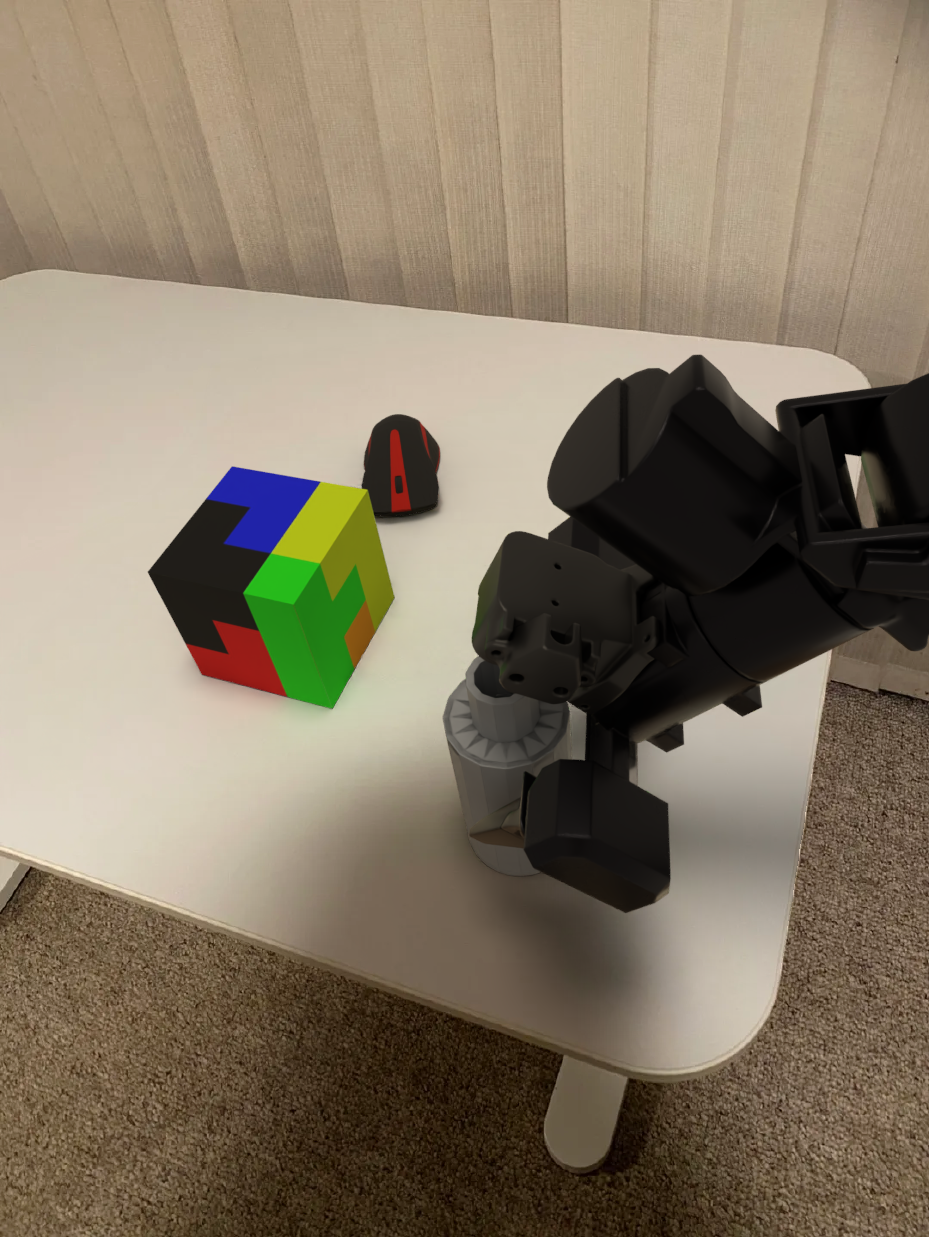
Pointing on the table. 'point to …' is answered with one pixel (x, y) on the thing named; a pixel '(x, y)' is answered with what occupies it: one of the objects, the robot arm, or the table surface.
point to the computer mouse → (401, 467)
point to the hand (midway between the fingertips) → (485, 756)
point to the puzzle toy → (277, 583)
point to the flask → (500, 751)
